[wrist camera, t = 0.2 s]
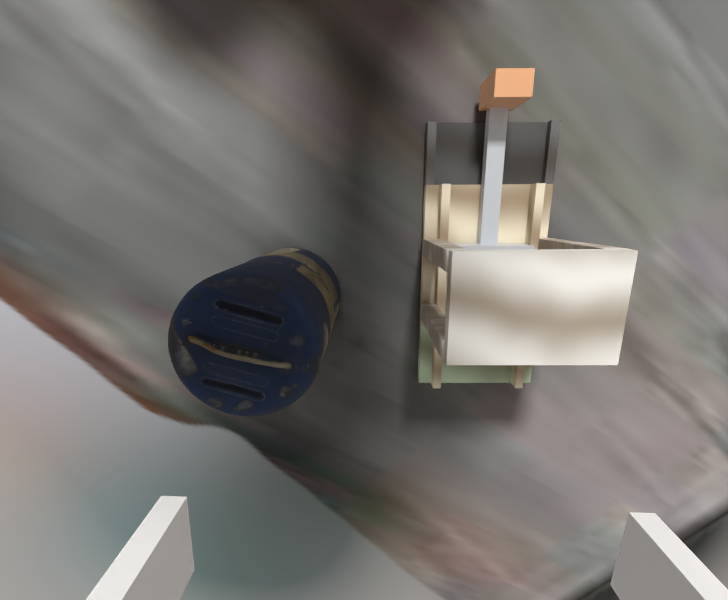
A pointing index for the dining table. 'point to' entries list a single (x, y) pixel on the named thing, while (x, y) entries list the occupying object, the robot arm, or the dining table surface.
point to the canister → (255, 332)
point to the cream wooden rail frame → (510, 268)
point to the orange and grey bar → (498, 149)
